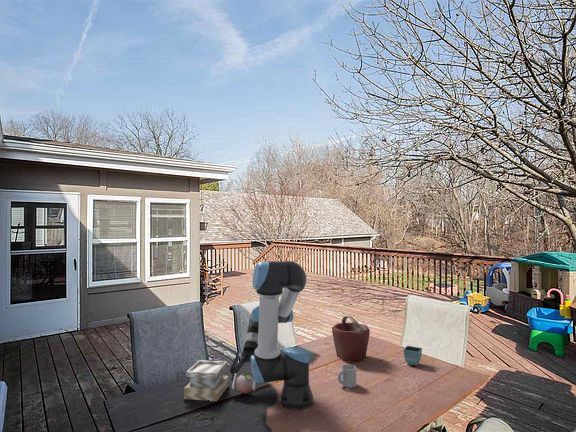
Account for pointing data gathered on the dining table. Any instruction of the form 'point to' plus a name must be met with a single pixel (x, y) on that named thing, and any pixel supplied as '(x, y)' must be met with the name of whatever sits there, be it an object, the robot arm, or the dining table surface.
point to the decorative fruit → (244, 383)
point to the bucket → (351, 340)
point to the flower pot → (412, 355)
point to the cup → (347, 376)
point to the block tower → (206, 380)
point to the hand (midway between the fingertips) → (243, 388)
